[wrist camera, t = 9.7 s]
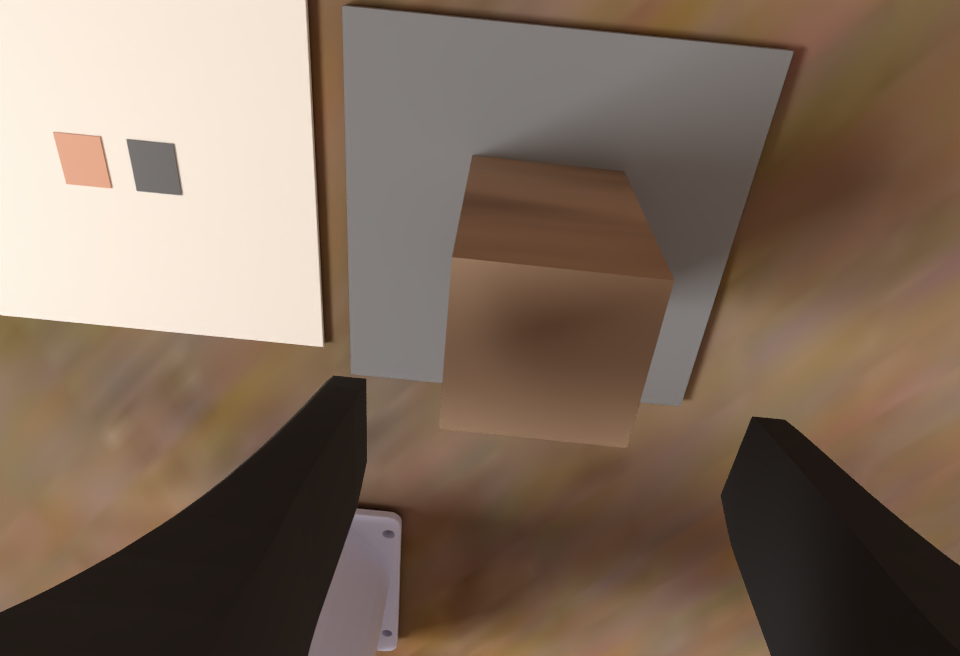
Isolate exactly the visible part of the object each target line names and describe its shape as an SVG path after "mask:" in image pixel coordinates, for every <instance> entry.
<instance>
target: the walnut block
mask: <svg viewBox="0 0 960 656" xmlns="http://www.w3.org/2000/svg"><path fill="white" fill-rule="evenodd" d="M674 281H675V280H674V278H673V276H672V274H671V272H670V270H669V267H668V265H667V263H666V261H665V259H664V257H663V254H662V252H661V250H660V248H659V246H658V243H657V241H656V239H655V237H654V235H653V233H652V230H651V228H650V226H649V224H648V222H647V220H646V217H645V215H644V213H643V211H642V209H641V206H640V204H639V202H638V200H637V198H636V196H635V193H634V191H633V189H632V187H631V185H630V183H629V180H628V178H627V176H626V174H625V172H624V171H615V170H606V169H597V168H587V167H578V166H568V165H559V164H550V163H540V162H531V161H521V160H512V159H503V158H493V157H484V156H475V155H472V159H471V164H470V169H469V174H468V179H467V184H466V189H465V194H464V199H463V204H462V209H461V214H460V219H459V224H458V229H457V234H456V239H455V244H454V249H453V254H452V262H451V275H450V289H449V302H448V315H447V328H446V341H445V354H444V367H443V380H442V393H441V406H440V419H439V429H447V430H457V431H466V432H476V433H486V434H495V435H505V436H515V437H524V438H534V439H544V440H553V441H563V442H573V443H582V444H592V445H602V446H611V447H621V448H627V446H628V443H629V439H630V436H631V432H632V429H633V425H634V422H635V418H636V414H637V411H638V407H639V404H640V400H641V397H642V393H643V390H644V386H645V383H646V379H647V376H648V372H649V369H650V365H651V362H652V358H653V355H654V351H655V348H656V344H657V341H658V337H659V334H660V330H661V327H662V323H663V319H664V316H665V312H666V309H667V305H668V302H669V298H670V295H671V291H672V288H673V284H674Z"/></svg>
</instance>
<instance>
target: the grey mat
mask: <svg viewBox="0 0 960 656" xmlns="http://www.w3.org/2000/svg"><path fill="white" fill-rule="evenodd" d="M342 17H343V58H344V100H345V141H346V183H347V225H348V266H349V308H350V349H351V374H356V375H366V376H376V377H386V378H396V379H407V380H417V381H427V382H437V383H442V380H443V367H444V354H445V341H446V328H447V315H448V302H449V289H450V275H451V262H452V254H453V249H454V244H455V239H456V234H457V229H458V224H459V219H460V214H461V209H462V204H463V199H464V194H465V189H466V184H467V179H468V174H469V169H470V164H471V159H472V155H475V156H484V157H493V158H503V159H512V160H521V161H531V162H540V163H550V164H559V165H568V166H578V167H587V168H597V169H606V170H615V171H624V172H625V174H626V176H627V178H628V180H629V183H630V185H631V187H632V189H633V191H634V193H635V196H636V198H637V200H638V202H639V204H640V206H641V209H642V211H643V213H644V215H645V217H646V220H647V222H648V224H649V226H650V228H651V230H652V233H653V235H654V237H655V239H656V241H657V243H658V246H659V248H660V250H661V252H662V254H663V257H664V259H665V261H666V263H667V265H668V267H669V270H670V272H671V274H672V276H673V278H674V280H675V281H674V284H673V288H672V291H671V295H670V298H669V302H668V305H667V309H666V312H665V316H664V319H663V323H662V327H661V330H660V334H659V337H658V341H657V344H656V348H655V351H654V355H653V358H652V362H651V365H650V369H649V372H648V376H647V379H646V383H645V386H644V390H643V393H642V397H641V400H640V403H650V404H660V405H671V406H681V403H682V400H683V397H684V394H685V391H686V388H687V385H688V381H689V378H690V375H691V372H692V369H693V366H694V363H695V360H696V356H697V353H698V350H699V347H700V344H701V341H702V338H703V334H704V331H705V328H706V325H707V322H708V319H709V316H710V313H711V309H712V306H713V303H714V300H715V297H716V294H717V291H718V287H719V284H720V281H721V278H722V275H723V272H724V269H725V266H726V262H727V259H728V256H729V253H730V250H731V247H732V244H733V240H734V237H735V234H736V231H737V228H738V225H739V222H740V219H741V215H742V212H743V209H744V206H745V203H746V200H747V197H748V193H749V190H750V187H751V184H752V181H753V178H754V175H755V172H756V168H757V165H758V162H759V159H760V156H761V153H762V150H763V147H764V143H765V140H766V137H767V134H768V131H769V128H770V125H771V121H772V118H773V115H774V112H775V109H776V106H777V103H778V100H779V96H780V93H781V90H782V87H783V84H784V81H785V78H786V74H787V71H788V68H789V65H790V62H791V59H792V56H793V53H794V51H792V50H789V49H779V48H769V47H759V46H749V45H739V44H729V43H719V42H709V41H700V40H690V39H680V38H670V37H660V36H650V35H640V34H630V33H620V32H610V31H600V30H591V29H581V28H571V27H561V26H551V25H541V24H531V23H521V22H511V21H501V20H491V19H481V18H472V17H462V16H452V15H442V14H432V13H422V12H412V11H402V10H392V9H382V8H372V7H362V6H353V5H343V6H342Z"/></svg>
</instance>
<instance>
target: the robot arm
mask: <svg viewBox="0 0 960 656" xmlns="http://www.w3.org/2000/svg"><path fill="white" fill-rule="evenodd" d="M366 463H367V416H366V379H362V378H352V377H342V376H333V377H331V378H330V379H329V380H327V381H326V383H325V384H324V385H323V386H322V387H321V388H320V389H319V390H318V391H317V392H316V393H315V394H314V395H313V397H312V398H311V399H310V400H309V401H308V402H307V403H306V404H305V405H304V406H303V407H302V408H301V409H300V410H299V411H298V412H297V413H296V414H295V415H294V416H293V417H292V418H291V419H290V420H289V421H288V422H287V423H286V424H285V425H284V426H283V427H282V428H281V429H280V430H279V431H278V432H277V433H276V434H275V435H274V436H273V437H271V438H270V439H269V440H268V441H267V442H266V443H265V444H264V445H263V446H262V447H261V448H260V449H259V450H258V451H256V452H255V453H254V454H253V455H252V456H251V457H249V458H248V459H247V460H246V461H245V462H244V463H242V464H241V465H240V466H239V467H238V468H237V469H235V470H234V471H233V472H232V473H231V474H230V475H228V476H227V477H226V478H225V479H224V480H222V481H221V482H220V483H219V484H217V485H216V486H215V487H213V488H212V489H211V490H210V491H208V492H207V493H206V494H204V495H203V496H202V497H200V498H199V499H198V500H196V501H195V502H194V503H192V504H191V505H189V506H188V507H187V508H185V509H184V510H182V511H181V512H180V513H178V514H177V515H175V516H174V517H172V518H171V519H169V520H168V521H166V522H165V523H163V524H162V525H160V526H159V527H157V528H156V529H154V530H152V531H151V532H149V533H148V534H146V535H144V536H143V537H141V538H140V539H138V540H136V541H135V542H133V543H132V544H130V545H128V546H127V547H125V548H124V549H122V550H120V551H119V552H117V553H115V554H114V555H112V556H110V557H108V558H107V559H105V560H103V561H101V562H99V563H98V564H96V565H94V566H92V567H90V568H89V569H87V570H85V571H83V572H81V573H79V574H77V575H76V576H74V577H72V578H70V579H68V580H66V581H64V582H62V583H60V584H58V585H56V586H55V587H53V588H51V589H49V590H47V591H45V592H43V593H41V594H39V595H37V596H35V597H33V598H31V599H28V600H26V601H24V602H22V603H20V604H18V605H15V606H13V607H11V608H9V609H7V610H4V611H2V612H0V656H376V651H377V650H382V651H391V650H394V649H395V648H396V647H397V643H398V624H399V592H400V561H401V530H402V520H401V517H400V516H399V515H398V514H396V513H394V512H388V511H378V510H368V509H358V508H357V504H358V500H359V495H360V491H361V487H362V482H363V477H364V472H365V468H366ZM721 499H722V504H723V509H724V514H725V519H726V524H727V528H728V533H729V537H730V541H731V546H732V549H733V552H734V555H735V558H736V560H737V563H738V566H739V569H740V572H741V575H742V577H743V580H744V583H745V586H746V589H747V591H748V594H749V597H750V599H751V602H752V605H753V608H754V610H755V613H756V616H757V619H758V621H759V624H760V627H761V629H762V632H763V635H764V638H765V640H766V643H767V646H768V649H769V651H770V654H771V656H960V566H959V565H958V564H957V563H955V562H954V561H953V560H951V559H950V558H949V557H947V556H946V555H945V554H943V553H942V552H941V551H939V550H938V549H937V548H935V547H934V546H933V545H932V544H930V543H929V542H928V541H927V540H925V539H924V538H923V537H922V536H920V535H919V534H918V533H917V532H915V531H914V530H913V529H912V528H910V527H909V526H908V525H907V524H905V523H904V522H903V521H902V520H900V519H899V518H898V517H897V516H896V515H894V514H893V513H892V512H891V511H890V510H888V509H887V508H886V507H885V506H884V505H883V504H881V503H880V502H879V501H878V500H877V499H876V498H874V497H873V496H872V495H871V494H870V493H869V492H867V491H866V490H865V489H864V488H863V487H862V486H861V485H859V484H858V483H857V482H856V481H855V480H854V479H853V478H851V477H850V476H849V475H848V474H847V473H846V472H845V471H844V470H842V469H841V468H840V467H839V466H838V465H837V464H836V463H835V462H833V461H832V460H831V459H830V458H829V457H828V456H827V455H826V454H825V453H823V452H822V451H821V450H820V449H819V448H818V447H817V446H816V445H814V444H813V443H812V442H811V441H810V440H809V439H808V438H806V437H805V436H804V435H803V434H802V433H801V432H799V431H798V430H797V429H796V428H795V427H793V426H792V425H791V424H790V423H788V422H787V421H786V420H782V419H772V418H761V417H752V418H751V421H750V423H749V426H748V428H747V431H746V433H745V436H744V438H743V441H742V443H741V446H740V448H739V451H738V453H737V456H736V458H735V461H734V464H733V466H732V469H731V471H730V474H729V476H728V479H727V481H726V484H725V486H724V489H723V491H722V494H721ZM387 530H390V531H387Z"/></svg>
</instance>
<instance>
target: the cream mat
mask: <svg viewBox="0 0 960 656" xmlns="http://www.w3.org/2000/svg"><path fill="white" fill-rule="evenodd" d="M0 315H6V316H16V317H26V318H36V319H46V320H56V321H66V322H77V323H87V324H97V325H107V326H117V327H127V328H137V329H147V330H158V331H168V332H178V333H188V334H198V335H208V336H218V337H229V338H239V339H249V340H259V341H269V342H279V343H289V344H300V345H310V346H320V347H323V346H324V344H325V343H324V322H323V302H322V282H321V262H320V241H319V221H318V201H317V181H316V160H315V140H314V120H313V100H312V79H311V59H310V39H309V19H308V0H0Z"/></svg>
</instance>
